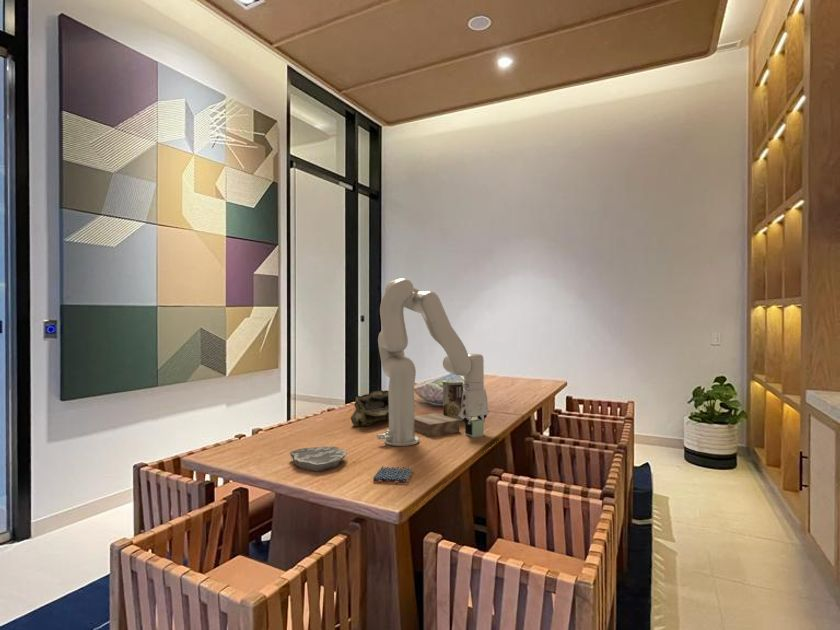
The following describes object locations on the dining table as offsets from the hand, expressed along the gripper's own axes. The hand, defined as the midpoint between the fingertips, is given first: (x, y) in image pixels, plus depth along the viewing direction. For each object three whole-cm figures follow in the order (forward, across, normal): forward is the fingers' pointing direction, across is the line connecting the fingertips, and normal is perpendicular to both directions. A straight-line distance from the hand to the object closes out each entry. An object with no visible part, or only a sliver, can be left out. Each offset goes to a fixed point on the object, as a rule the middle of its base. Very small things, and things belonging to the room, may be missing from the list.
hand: (474, 432), depth 187 cm
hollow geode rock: (+1, -19, +42) cm, 46 cm away
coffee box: (+1, +10, +26) cm, 28 cm away
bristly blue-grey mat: (+2, -50, -23) cm, 55 cm away
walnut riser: (+1, -8, +16) cm, 18 cm away
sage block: (+1, 0, 0) cm, 1 cm away
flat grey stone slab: (+2, -62, +3) cm, 62 cm away
